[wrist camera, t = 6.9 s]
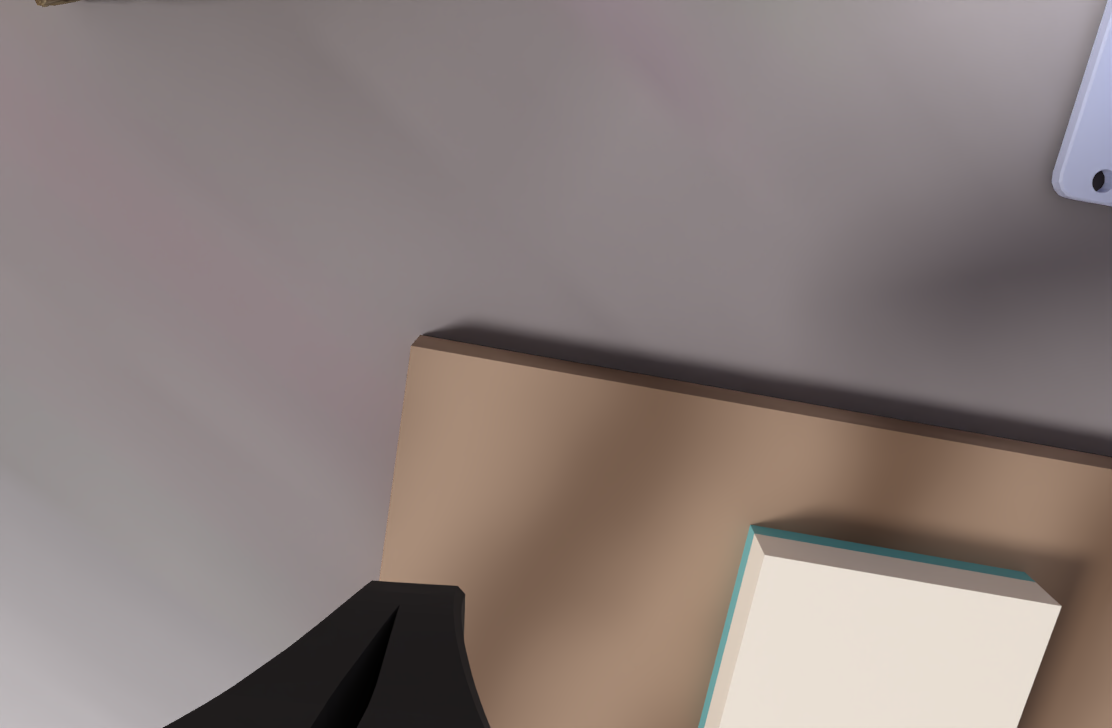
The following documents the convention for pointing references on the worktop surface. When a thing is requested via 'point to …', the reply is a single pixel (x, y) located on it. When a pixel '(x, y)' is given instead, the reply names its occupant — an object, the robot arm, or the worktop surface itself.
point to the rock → (53, 2)
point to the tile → (874, 639)
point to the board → (702, 526)
